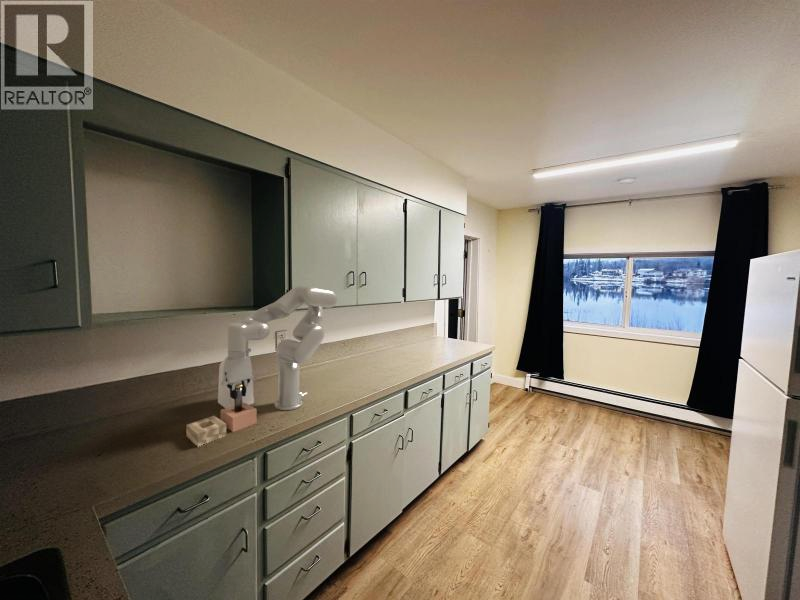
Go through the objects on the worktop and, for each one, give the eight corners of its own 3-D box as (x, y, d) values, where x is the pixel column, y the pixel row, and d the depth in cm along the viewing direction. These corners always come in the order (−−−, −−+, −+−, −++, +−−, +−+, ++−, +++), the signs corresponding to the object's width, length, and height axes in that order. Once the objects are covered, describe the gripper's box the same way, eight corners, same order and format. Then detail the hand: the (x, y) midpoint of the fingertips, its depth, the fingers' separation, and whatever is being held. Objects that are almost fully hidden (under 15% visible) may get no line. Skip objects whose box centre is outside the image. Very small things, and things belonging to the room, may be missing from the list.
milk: (217, 402, 154) (216, 349, 151) (242, 395, 163) (241, 345, 160) (228, 410, 147) (228, 354, 144) (253, 403, 155) (253, 350, 152)
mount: (214, 427, 132) (214, 415, 131) (226, 436, 126) (226, 423, 125) (186, 437, 124) (186, 424, 123) (198, 447, 118) (197, 434, 117)
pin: (240, 407, 138) (240, 382, 136) (244, 409, 135) (244, 384, 134) (231, 409, 135) (231, 384, 133) (236, 412, 133) (236, 387, 131)
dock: (244, 415, 143) (244, 402, 142) (256, 422, 137) (256, 409, 136) (220, 423, 135) (220, 410, 134) (232, 432, 129) (232, 417, 128)
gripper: (252, 348, 141) (252, 389, 143) (212, 355, 128) (213, 400, 130) (262, 351, 137) (261, 393, 139) (221, 359, 124) (222, 406, 126)
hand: (238, 396), depth 134 cm, fingers closed on pin, 3 cm apart
